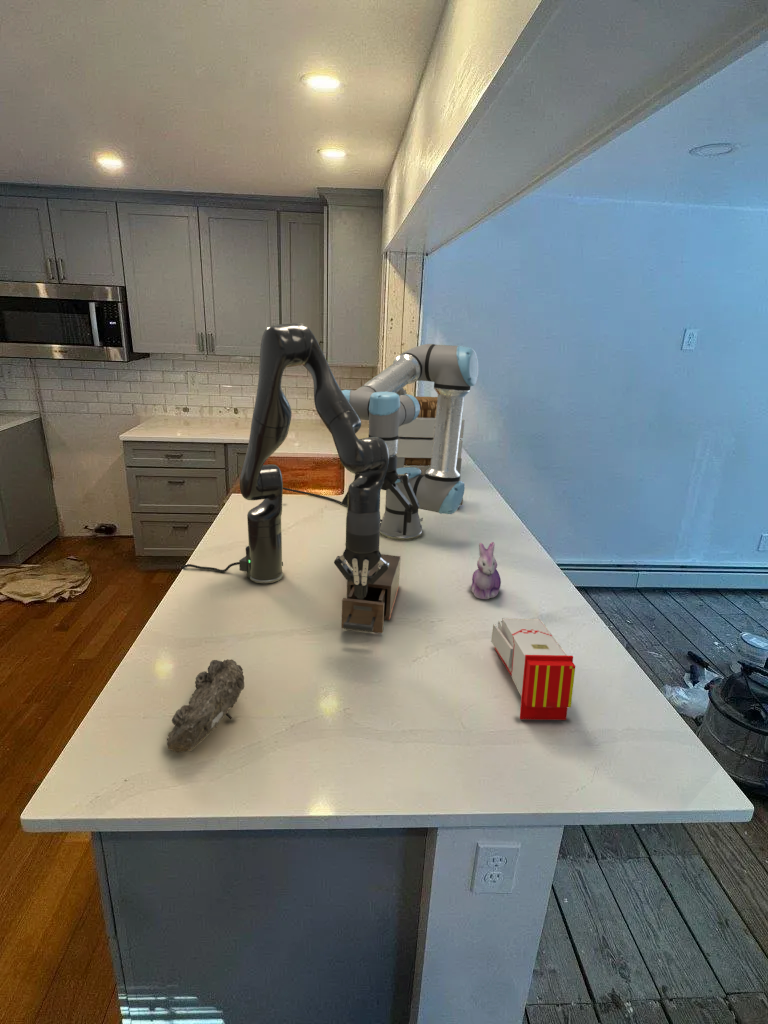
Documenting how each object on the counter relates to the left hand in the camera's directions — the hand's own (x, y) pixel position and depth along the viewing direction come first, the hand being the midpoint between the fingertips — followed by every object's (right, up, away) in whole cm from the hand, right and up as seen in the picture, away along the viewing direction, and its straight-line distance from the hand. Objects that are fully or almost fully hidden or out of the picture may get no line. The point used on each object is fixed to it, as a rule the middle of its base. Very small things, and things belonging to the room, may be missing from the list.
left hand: (360, 597), depth 131 cm
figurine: (+34, -3, +30) cm, 46 cm away
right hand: (+4, +15, +22) cm, 26 cm away
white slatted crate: (+23, +39, +144) cm, 151 cm away
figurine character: (+34, +23, +101) cm, 109 cm away
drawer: (+1, -7, +12) cm, 14 cm away
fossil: (-27, -19, -23) cm, 40 cm away
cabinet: (+3, -4, +23) cm, 24 cm away
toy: (+36, -17, -7) cm, 40 cm away
